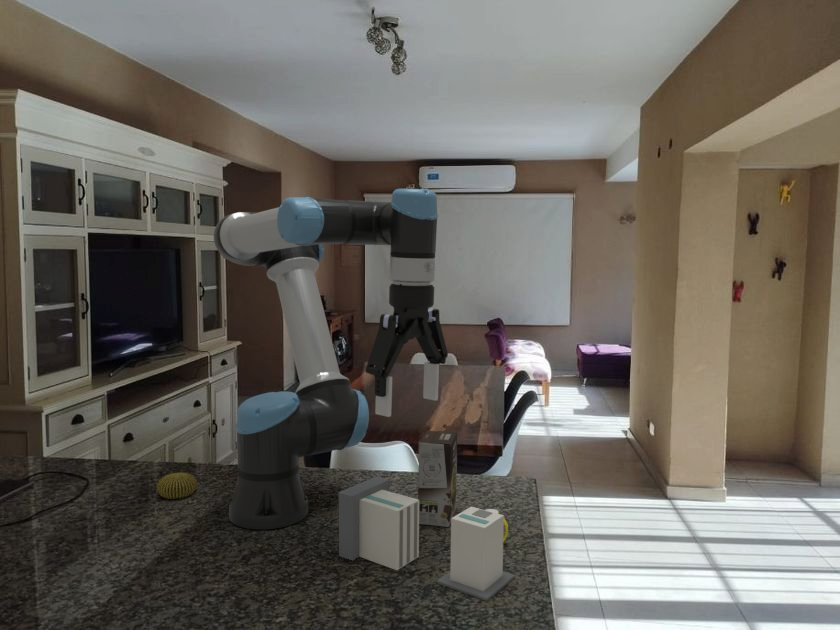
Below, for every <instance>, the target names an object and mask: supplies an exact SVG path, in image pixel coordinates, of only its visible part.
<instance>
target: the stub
mask: <svg viewBox="0 0 840 630" xmlns="http://www.w3.org/2000/svg"><path fill="white" fill-rule="evenodd" d="M504 518H505V515H504V514H500V513H499V514H497V513H493V512H490V511H486V509H481V508H478V507H475V506H470V507H468V508H467V509H464V510H463V511H461V512H460V513H458V514H456V515H454V516H453V518H451V523H450V570H449V572H450V580H452V581H455V582H458V583H461V584H464V585H467V586H469V587H472V588H475V589H478V590H481V591H485V590H486V589H487V588H488V587H489V586H491V585H492V584H493V583H494V582H496V581H497V580H498V579H499V578H501V577H502V574H503V571H504V568H503V567H504V563H503V562H504V542H503V536H504V528H505V526H504Z"/></svg>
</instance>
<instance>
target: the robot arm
mask: <svg viewBox="0 0 840 630" xmlns="http://www.w3.org/2000/svg"><path fill="white" fill-rule="evenodd" d="M437 197H438V195H437V194H436V192H434V191H433V190H431V189H424V188H423V189H422V188H396V189H394V191H393V192H392V195H391V200H390V202H389V201H376V200H375V201H369V200H367V201H366V200H352V199H351V200H349V199H346V200H345V199H331V198H330V199H329V198H317V197H316V198H315V197H310V196H299V197H298V196H297V197H286V198H285V199H283V201H282V203H281V204H280V206H278V207H275V208H271V209H267V210H263V211H260V212H254V211H253V212H251V211H245V212H244V211H242V212H241V211H238V212H234V213H231V214H228V215H226V216H224V217H222V218H221V219H220V220H219V221H218V222H217V224H216V226H215V228H214V230H213V242H214V245H215V248H216V250H217V251H218V253H219V254H220V255H221V256H222V257H224V259H225V260H228V261H229V262H231V263H234V264H236V265H240V266H249V267H252V266H253V267H264V268H265V269H264V270H265V271H266V277H267V278H268V279H269V280H271V281H272V282H275V284H276V289H277V292H278V293H277V294H278V297H279V300H280V304H281V310H282V313H283V316H284V317H283V318H284V322H285V326H286V329H287V333H288V335H287V336H288V339H289V342H290V348H291V351H292V356H293V359H294V363H295V368H296V373H297V376H298V377H297V378H298V380H299V385H298V387H297V388H296V390H295V392H293V391H287V390H286V391H284V390H283V391H277V392H275V391H269V392H265V393H261V394H258V395H253V396H252V397H250V398H248V399H246V400H244V401H243V402H242V403H241V404H240V405H239V406H238V409H237V416H236V424H235V429H236V443H237V444H236V447H237V448H236V449H237V480H236V483H235V487H234V491H233V495H232V499H231V501H230V503H229V507H228V513H229V514H228V516H229V517H228V518H229V521H230V522H231V523H232V524H234V525H235V526H237V527H240V528H244V529H249V530H274V529H280V528H285V527H289V526H291V525H294V524H297V523H299V522H301V521H302V520H303V519H305V518H306V517H308V515H309V498H308V496H307V495H306V492H305V488H304V485H303V481H302V478H301V476H300V458H304V457H308V456H313V455H318V454H322V453H328V452H332V451H333V452H334V451H342V450H344V449H347V448H350V447H351V448H352V447H354V446H357V445H358V444H360V443H361V441H362V440H363V439H364V438H365V436H366V434H367V430H368V429H369V428H368V427H369V422H370V421H369V420H370V413H369V411H370V410H369V404H368V401H367V398H366V397H365V395H364V394H363V393H362V391H360V390H359V389H358V390H357V389H354V388H353V389H352V385H351V381H350V379H349V378H348V377H347V376H344V375H342V373H341V372H340V371H341V370H340V368H339V365H338V364H339V363H338V360H337V356H336V352H335V348H334V345H333V340H332V337H331V333H330V329H329V325H328V321H327V318H326V313H325V309H324V305H323V302H322V298H321V294H320V291H319V287H318V283H317V278H316V272H317V270H318V269H319V267H320V262H321V261H322V259H323V256H324V252H325V248H324V246H325V245H359V246H361V245H363V246H366V245H367V246H370V245H371V246H372V245H373V246H390V253H389V255H390V256H389V277H388V278H389V280H390V281H392V283H391V284H390V285H389V286H388V287H389V291H388V296H389V297H388V303H389V305H390V306H391V307H393V312H392V313H393V314H386V313H382V314H381V315H380V317H379V328H378V330H377V334H376V336H375V340H374V343H373V346H372V348H371V351H370V355H369V358H368V361H367V365H366V366H365V373H366V374H370V375H371V376H374V396H375V412H374V414H375V415H377V416H378V415H379V416H383V417H387V418H389V417H392V407H393V405H392V400H393V376H390V374H391V371H392V369H393V367H394V365H395V363H396V361H397V360H398V357H399V356H400V353H401V351H402V349H403V347H404V345H405V344H407V343H408V342H409V340H413V339H416V341H417V342H418V344H419V347H420V348H421V350H422V352H423V354H424V355H425V358H426V360H427V361H426V362H424V364H423V365H424V367H423V389H422V390H423V392H422V394H423V397H422V398H423V399H424V400H425V399H426V400H431V401H436V402H437V401H438V400H439V381H440V380H439V379H440V367H441V366H440V364H443V365H445V363H446V360H447V358H448V353H449V352H448V349H447V344H446V341H445V337H444V334H443V329H442V325H441V322H440V309H437V308H432V307H433V306H434V304H435V286H434V285H433V284H431V283H432V282H434V281H435V271H436V269H435V268H436V266H435V265H436V251H437V250H436V248H437V247H436V246H437V230H438V229H437V227H438V218H439V214H438V200H437V199H438V198H437Z"/></svg>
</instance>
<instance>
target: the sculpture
mask: <svg viewBox="0 0 840 630" xmlns="http://www.w3.org/2000/svg"><path fill="white" fill-rule="evenodd" d="M197 486H198V482H197V479H196V477H195V476H194V475H192V474H191V473H188V472H173V473H168V474H166V475H164V476H162V477H161V478H160V479H158V482H157V483H156V491H157V493H158V494H159V496H161V497H162V498H165V499H169V500H175V499H183V498H186V497H189V496H190V495H192V494H193V493H195V491H196V489H197Z"/></svg>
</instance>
